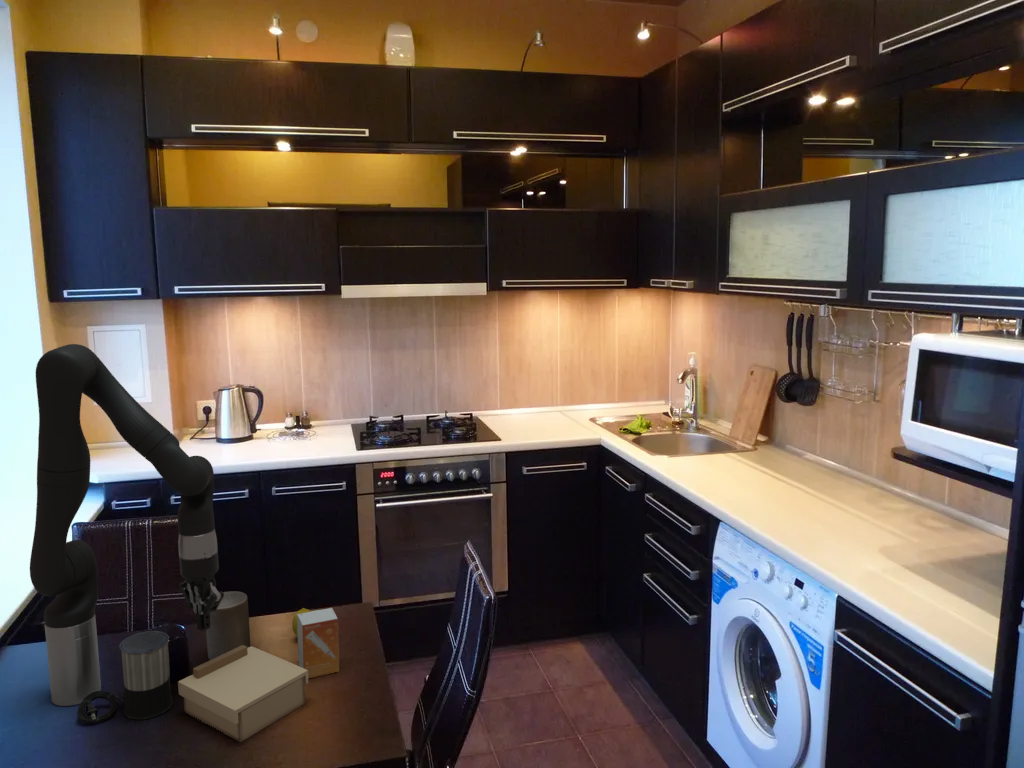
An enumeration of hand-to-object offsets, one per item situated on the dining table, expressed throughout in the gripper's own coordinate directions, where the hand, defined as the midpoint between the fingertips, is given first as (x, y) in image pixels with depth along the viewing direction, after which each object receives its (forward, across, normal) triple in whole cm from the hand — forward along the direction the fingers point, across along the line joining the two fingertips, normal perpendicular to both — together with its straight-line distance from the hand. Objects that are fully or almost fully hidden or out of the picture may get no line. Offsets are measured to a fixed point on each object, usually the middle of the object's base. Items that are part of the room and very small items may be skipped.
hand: (204, 629), depth 162 cm
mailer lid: (+10, +13, 0) cm, 16 cm away
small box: (+14, +13, +19) cm, 27 cm away
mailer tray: (+14, +12, 0) cm, 19 cm away
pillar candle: (+14, -10, +12) cm, 21 cm away
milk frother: (+14, -6, -14) cm, 21 cm away
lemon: (+14, -1, +27) cm, 31 cm away
